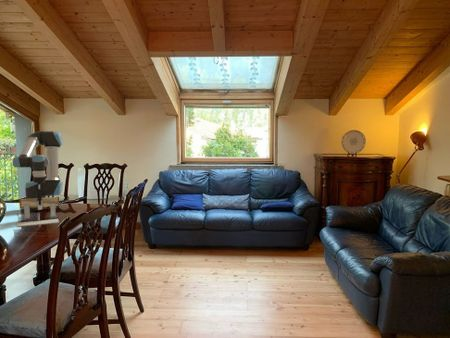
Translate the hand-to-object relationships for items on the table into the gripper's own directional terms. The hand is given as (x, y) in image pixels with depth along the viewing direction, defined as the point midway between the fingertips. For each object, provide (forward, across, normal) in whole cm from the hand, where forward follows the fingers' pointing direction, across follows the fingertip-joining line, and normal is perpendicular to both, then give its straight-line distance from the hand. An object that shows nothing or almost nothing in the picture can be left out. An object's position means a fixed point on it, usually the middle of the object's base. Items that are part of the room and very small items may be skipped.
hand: (40, 208), depth 221 cm
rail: (-2, 0, 0) cm, 2 cm away
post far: (+7, 0, +8) cm, 11 cm away
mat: (+7, +13, -1) cm, 15 cm away
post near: (+7, 0, -8) cm, 11 cm away
